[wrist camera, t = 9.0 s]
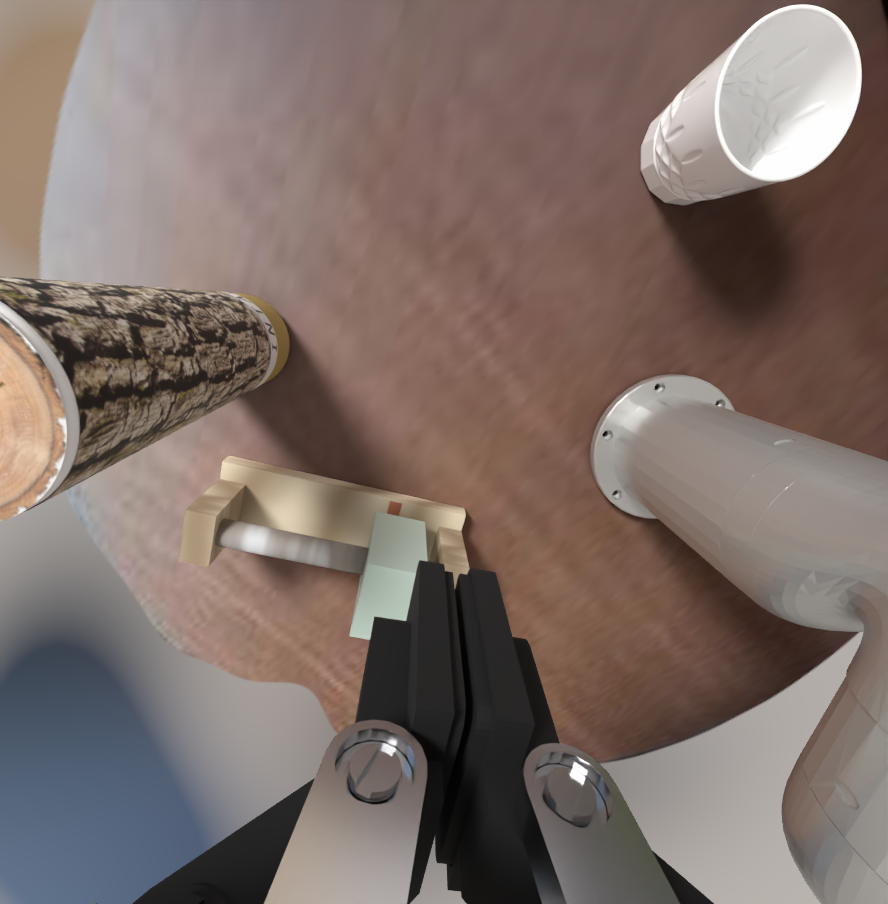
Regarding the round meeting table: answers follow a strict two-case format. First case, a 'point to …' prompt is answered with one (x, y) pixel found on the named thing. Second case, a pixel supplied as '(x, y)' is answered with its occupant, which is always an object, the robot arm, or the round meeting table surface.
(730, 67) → the white cup
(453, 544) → the rod stand
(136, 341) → the paper tube
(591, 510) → the round meeting table surface
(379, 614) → the collar
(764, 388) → the round meeting table surface
